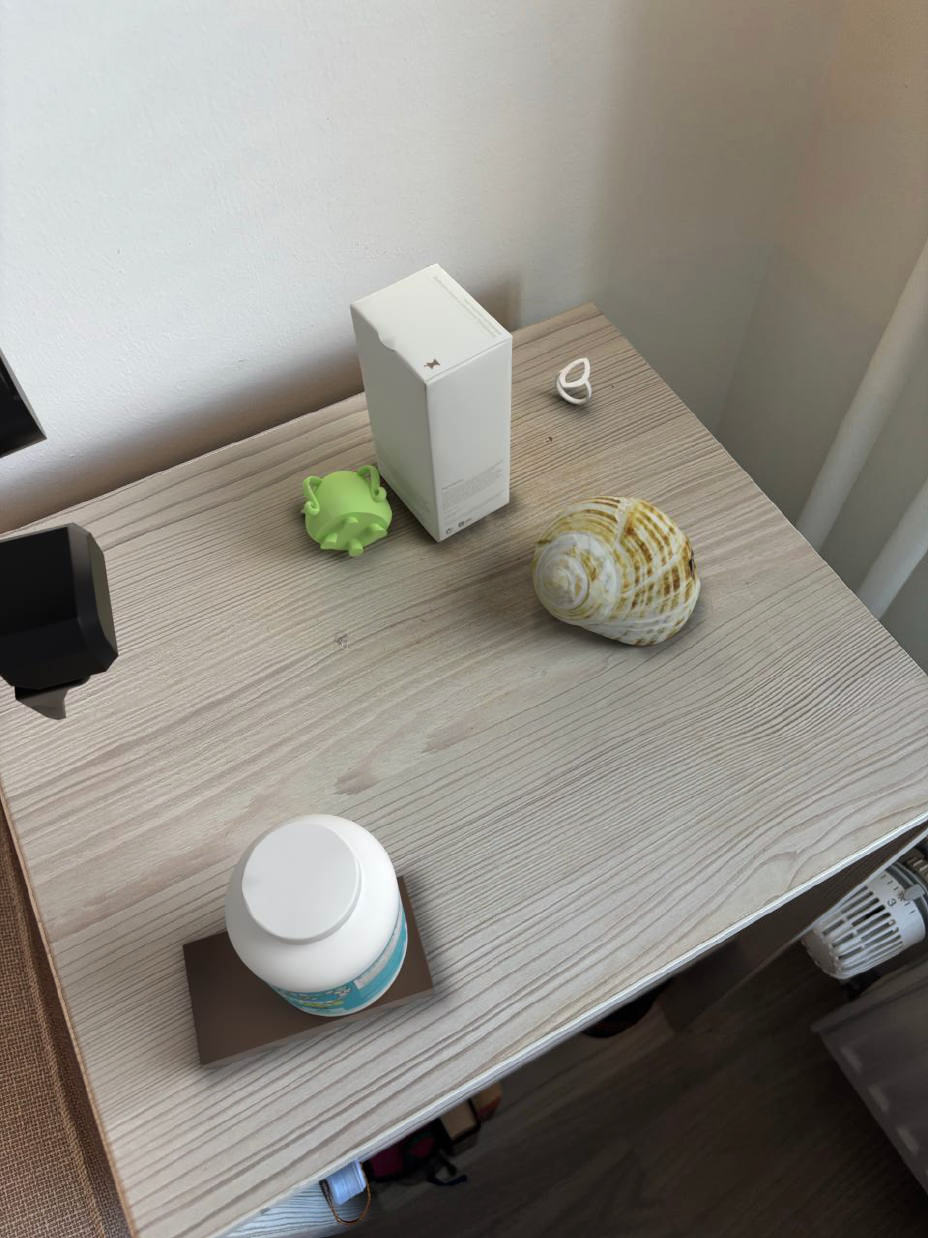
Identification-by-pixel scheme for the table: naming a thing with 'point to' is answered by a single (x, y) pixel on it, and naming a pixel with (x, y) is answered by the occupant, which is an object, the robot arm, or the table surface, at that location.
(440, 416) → the cosmetic box
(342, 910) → the pill bottle
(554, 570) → the seashell
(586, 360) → the ring
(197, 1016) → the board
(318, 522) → the green footed pot
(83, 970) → the table surface
